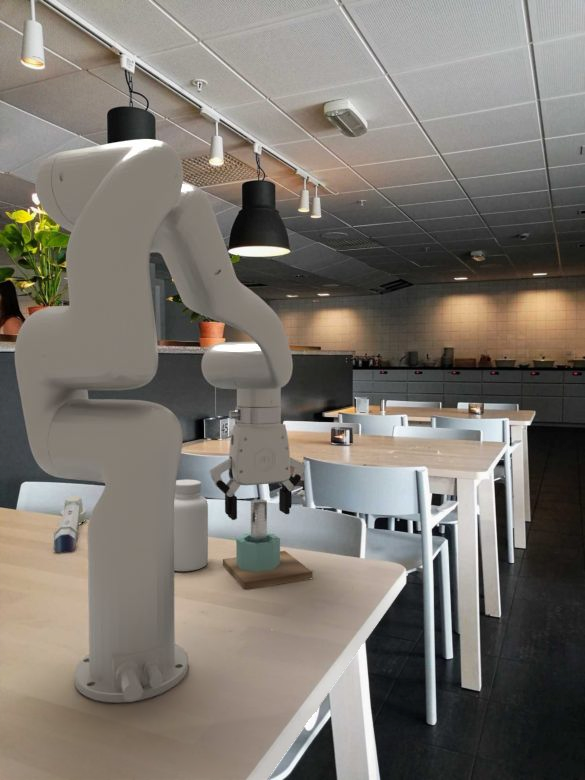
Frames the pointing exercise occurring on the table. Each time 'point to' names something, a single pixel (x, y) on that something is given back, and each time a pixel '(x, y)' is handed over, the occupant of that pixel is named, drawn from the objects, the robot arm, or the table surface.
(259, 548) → the ring
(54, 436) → the robot arm
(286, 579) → the board
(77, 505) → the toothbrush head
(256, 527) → the grey metal peg
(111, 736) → the table surface
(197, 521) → the pill bottle
